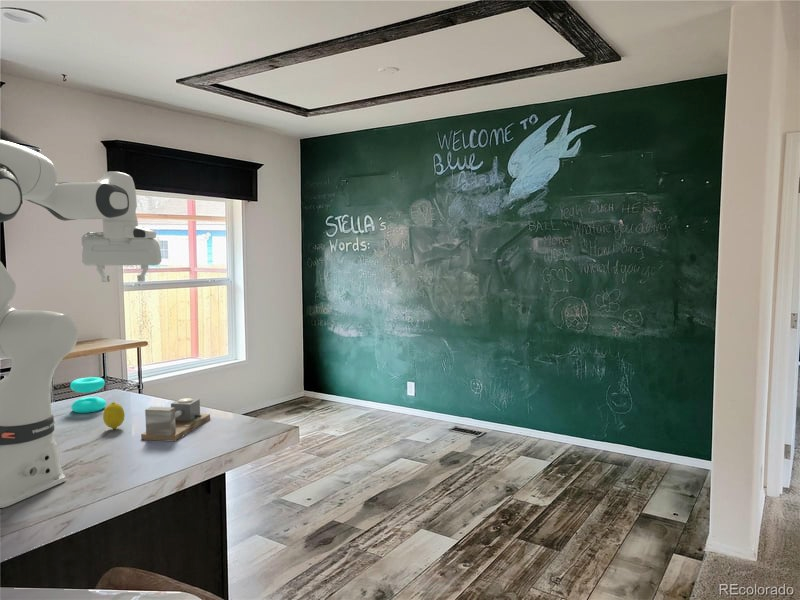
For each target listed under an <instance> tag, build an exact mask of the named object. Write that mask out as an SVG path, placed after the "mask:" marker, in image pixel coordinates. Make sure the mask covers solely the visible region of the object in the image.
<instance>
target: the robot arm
mask: <svg viewBox="0 0 800 600" xmlns="http://www.w3.org/2000/svg"><path fill="white" fill-rule="evenodd" d="M133 179H134V178H133V177H132V176H131V175H130V174H127V173H125V172H120V171H111V170H109V171H104V172H103V173H102V176H101V178H99V179H97V180H95V181H89V182H85V181H83V182H82V181H81V182H79V181H78V182H69V181H68V182H67V181H58V173H57V169H56V167H55V165H54V163H53V162H52V161H51V160H50V159H49V158H48V157H46V155H45V156H44V155H43V154H42V153H39V152H37V151H35V150H33V149H31V148H28V147H26V146H24V145H20V144H18V143H16V142H11V141H8V140H4V139H0V223H3V222H7V221H10V220H12V219H14V218H15V217H16V216H17V214H18V213H19V211H20V209H21V206H22V203H23V200H25V201H27V202H30V203H32V204H35V205H38V206H40V207H42V208H43V209H46V210H47V211H48V212H49V214H51V215H52V216H53V217H55V218H57V220H61V221H63V222H64V221H65V222H66V221H76V220H77V221H78V220H101V221H102V231H98V232H97V231H96V232H93V231H89V232H86V233H84V234H83V235H82V237H81V246H82V250H81V251H82V252H81V262H82V263H83V265H84V266H86V267H87V266H88V267H89V266H91V267H92V266H93V267H96V271H97V272H98V274H99V276H101V282H102V283H109V282H110V281H111V279H110V275H107V274H106V272H105V268H106V267H107V266H140V270H142V271H141V273H140V274H138V275H137V276H136V277H137V283H138V282H139V283H140V282H142V283H143V282H145V280H146V278H145V277H146V274H147V272H148V271H149V266H157V265H160V264H161V262H162V251H161V247H160V244H159V242H158V240H157V239H156V237H157V232H156V230H152V229H149V228H145V227H144V226H140V225H139V222H138V220H139V219H138V218H137V214H136V211H137V208H138V207H137V205H138V202H137V191H136V186H135V182H134V180H133ZM16 289H17V286H16V281H15V280H14V278H13V277H12V275H11V274H10V272H9V271H8V270H7V268H6V267H5V266H4V264H3V262H2V261H1V260H0V360H11V368H10V371H9V374H8V375H7V376H5V377H4V378H2V379H0V509H1V508H7V507H10V506H12V505H14V504H17V503H19V502H21V501H23V500H26V499H28V498H30V497H33V496H35V495H37V494H39V493H41V492H44V491H46V490H49V489H50V488H53V487H55V486H57V485H59V484H62V483H64V482H66V481H67V479H66V475H65V474H64V471H63V470H62V466H61V459H60V452H59V448H58V444H57V442H56V439H55V437H54V431H55V423H56V422H55V419H54V415H53V413H52V400H51V399H52V398H51V393H52V381H53V376H54V373H55V371H56V369H57V367H58V365H59V363H60V362H61V361H62V360H63V359H64V358H65V357H66V356H67V355H69V354H71V352H72V351H73V350H74V349H75V347H76V345H77V342H78V339H79V332H78V331H79V330H78V326H77V324H76V322H75V321H74V319H73V318H72V317H71V316H70V315H68V314H64V313H62V312H56V311H51V310H43V309H42V310H41V309H35V310H34V309H17V308H16V307H13V306H12V305H10V303H11V302H12V301H13V299H14V296H15V295H16Z"/></svg>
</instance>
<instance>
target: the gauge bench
mask: <svg viewBox="0 0 800 600" xmlns="http://www.w3.org/2000/svg"><path fill="white" fill-rule="evenodd" d="M144 413H145V431H144V432H142V433H141V436H140V437H141V438H140V440H141V439H144V440H143V441H145V440H146V441H161V440H173V441H172V442H177V441H178V440H179V438H180V437H181V438H182V436H183V435H184V436H186V435H187V434H189V433H190V432H192V431H193V430H192V429H194V428H195V429H196V427H197V426H198V427H200V426H201V425H203V424H205V423H206V422H208V421H209V420H210V419H211V413H200V415H202V417H201V418H199V417H196V418H195V419H193V420H191V421H180V420H175V408H172V407H171V406H169V407H167V406H164V407H163V406H150V407H148V408H145V410H144ZM207 420H208V421H207ZM202 423H203V424H202ZM199 425H200V426H199ZM198 427H197V428H198ZM195 429H194V430H195ZM191 430H192V431H191ZM189 431H190V432H189ZM188 432H189V433H188ZM186 433H187V434H186ZM185 434H186V435H185ZM184 436H183V437H184ZM181 438H180V439H181ZM177 439H178V440H177Z"/></svg>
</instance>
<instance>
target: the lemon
mask: <svg viewBox="0 0 800 600" xmlns="http://www.w3.org/2000/svg"><path fill="white" fill-rule="evenodd" d="M102 417H103V422H104V424H105V425H106V426H107V427H108V428H111V429H113V430H117V428H119V427H120V426H121V425H122V424H123V422H124V420H125V411H124V408H123V407H122V405H120V404H119V403H116V402H114V401H113V402H111V403H110V404H108V405H106V406H105V407H104V411H103V414H102Z"/></svg>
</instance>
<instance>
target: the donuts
mask: <svg viewBox="0 0 800 600" xmlns="http://www.w3.org/2000/svg"><path fill="white" fill-rule="evenodd" d="M105 384H106V382H105V379H104V378H102V377H98V376H97V377H96V376H88V377H81V378H77V379H74V380H73V381H71V382H70V384H69V387H70V390H72V391H73V392H76V393H92V392H97V391H100V390H101V389H102V388H104V387H105ZM70 407H71V410H72V411H73V412H75V413H77V414H89V413H94V412H95V413H96V412H99V411H101V410H103V409H105V408H106V407H107V402H106V400H105V399H104V398H102V397H98V396H88V397H87V396H86V397H82V398H79V399H76V400H74V401H73V402H72V404H71V405H70Z"/></svg>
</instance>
